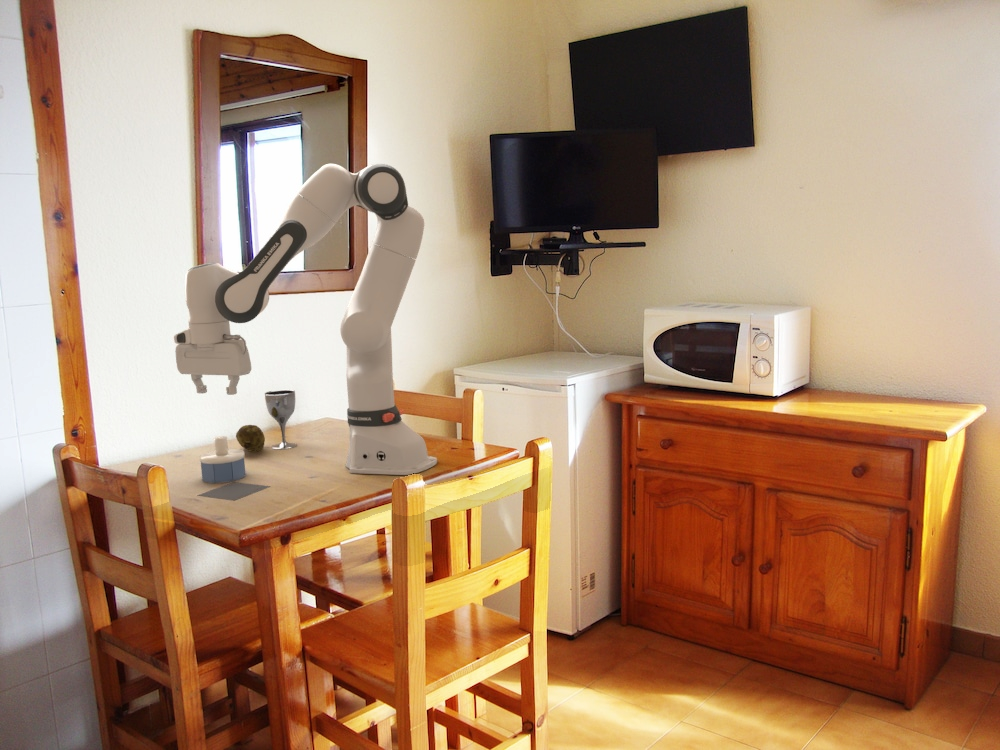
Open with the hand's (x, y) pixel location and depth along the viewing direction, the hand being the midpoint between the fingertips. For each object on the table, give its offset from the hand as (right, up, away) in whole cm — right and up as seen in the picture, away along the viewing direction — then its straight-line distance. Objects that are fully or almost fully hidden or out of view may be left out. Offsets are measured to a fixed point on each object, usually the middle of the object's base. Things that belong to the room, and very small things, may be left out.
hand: (216, 393), depth 193 cm
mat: (+7, -22, -9) cm, 25 cm away
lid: (+1, -15, +2) cm, 15 cm away
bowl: (+1, -20, +3) cm, 20 cm away
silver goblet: (+7, -15, +34) cm, 38 cm away
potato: (0, -16, +29) cm, 34 cm away
